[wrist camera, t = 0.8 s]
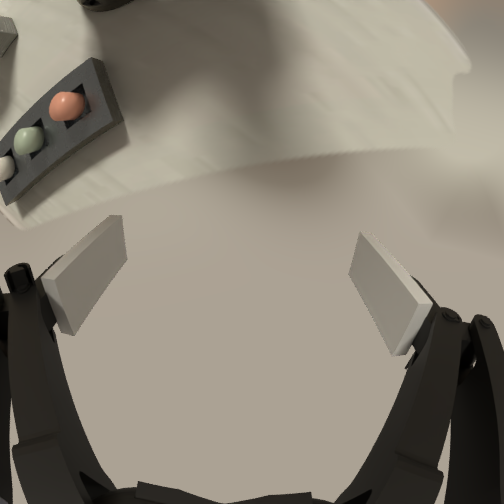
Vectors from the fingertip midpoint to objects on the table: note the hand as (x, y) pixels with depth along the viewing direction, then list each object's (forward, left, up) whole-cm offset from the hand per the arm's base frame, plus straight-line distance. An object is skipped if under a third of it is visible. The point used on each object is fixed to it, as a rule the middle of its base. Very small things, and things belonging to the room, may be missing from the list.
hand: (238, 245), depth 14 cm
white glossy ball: (-20, -36, -20) cm, 46 cm away
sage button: (-20, -27, -20) cm, 39 cm away
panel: (-20, -27, -24) cm, 41 cm away
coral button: (-19, -18, -20) cm, 33 cm away
